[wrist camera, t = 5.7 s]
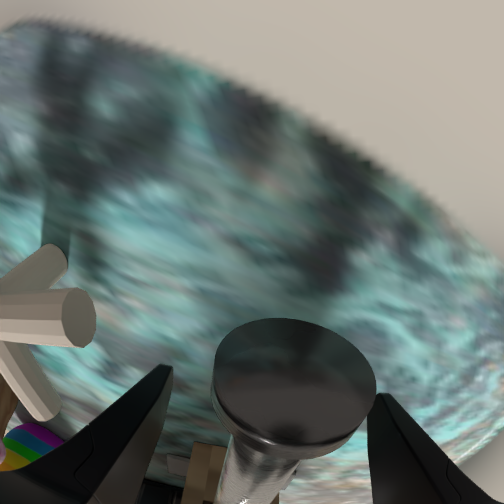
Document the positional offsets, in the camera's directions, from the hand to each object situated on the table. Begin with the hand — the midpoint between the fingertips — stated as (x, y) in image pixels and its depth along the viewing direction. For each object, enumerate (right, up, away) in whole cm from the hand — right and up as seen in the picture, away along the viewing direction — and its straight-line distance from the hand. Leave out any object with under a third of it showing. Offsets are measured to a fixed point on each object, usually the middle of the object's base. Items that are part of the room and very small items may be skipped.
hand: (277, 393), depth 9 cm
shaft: (-1, -5, +3) cm, 6 cm away
